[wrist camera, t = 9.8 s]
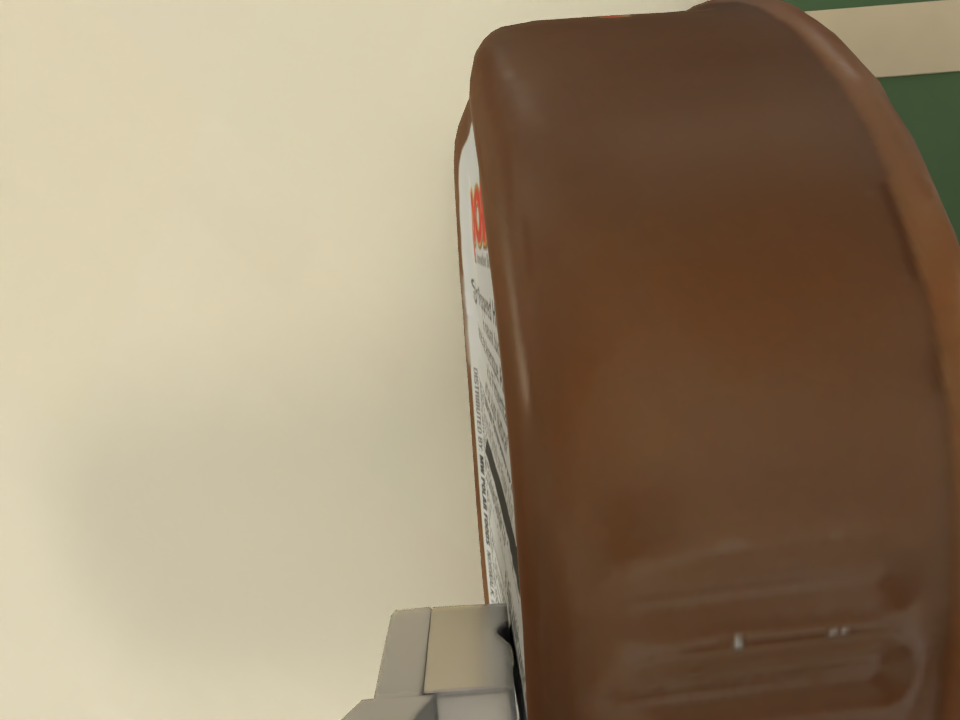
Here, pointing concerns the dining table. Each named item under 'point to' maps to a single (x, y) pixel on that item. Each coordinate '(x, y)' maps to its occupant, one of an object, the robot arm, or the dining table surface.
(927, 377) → the tin
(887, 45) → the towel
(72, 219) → the dining table surface
